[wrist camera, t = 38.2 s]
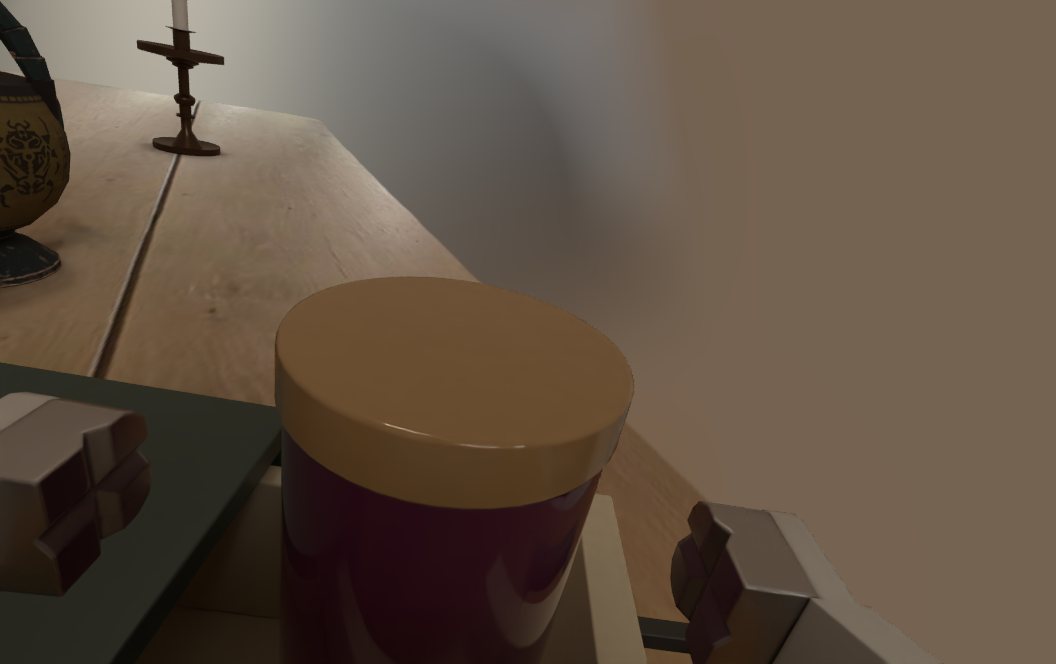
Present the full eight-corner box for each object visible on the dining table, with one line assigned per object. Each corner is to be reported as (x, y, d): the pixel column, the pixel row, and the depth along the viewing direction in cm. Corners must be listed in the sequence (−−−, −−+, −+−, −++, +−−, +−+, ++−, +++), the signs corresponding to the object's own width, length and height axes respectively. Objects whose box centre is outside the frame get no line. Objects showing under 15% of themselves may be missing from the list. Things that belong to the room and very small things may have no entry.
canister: (497, 695, 16) (606, 304, 11) (489, 957, 11) (678, 476, 6) (317, 676, 16) (342, 256, 11) (226, 943, 11) (190, 402, 6)
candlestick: (241, 155, 89) (237, -101, 75) (191, 159, 79) (175, -134, 65) (184, 140, 90) (169, -114, 76) (127, 143, 81) (98, -148, 67)
